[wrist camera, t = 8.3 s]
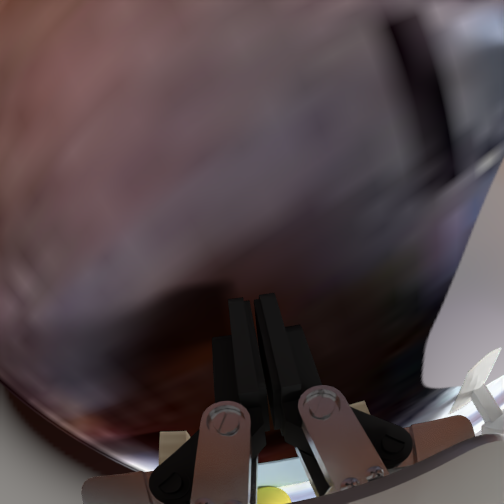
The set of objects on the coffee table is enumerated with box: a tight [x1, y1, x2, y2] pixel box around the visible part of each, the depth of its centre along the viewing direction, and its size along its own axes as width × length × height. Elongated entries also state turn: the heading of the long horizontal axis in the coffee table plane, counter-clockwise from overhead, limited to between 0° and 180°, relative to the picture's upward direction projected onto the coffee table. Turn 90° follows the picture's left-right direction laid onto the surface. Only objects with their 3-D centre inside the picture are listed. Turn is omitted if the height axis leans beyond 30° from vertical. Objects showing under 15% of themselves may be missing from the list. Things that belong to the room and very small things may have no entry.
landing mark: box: [257, 457, 309, 488], centre depth 26 cm, size 12×12×1 cm
